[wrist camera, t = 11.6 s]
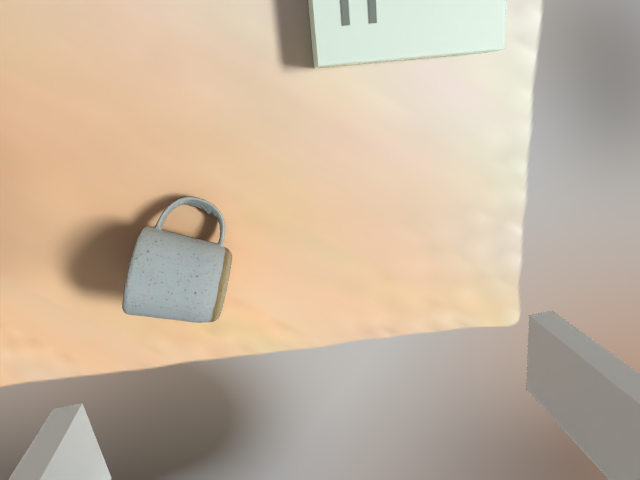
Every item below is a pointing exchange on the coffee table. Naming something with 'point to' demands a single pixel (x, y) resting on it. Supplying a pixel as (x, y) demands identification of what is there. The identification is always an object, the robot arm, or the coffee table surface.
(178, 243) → the ceramic mug
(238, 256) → the coffee table surface
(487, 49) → the outlet plate
